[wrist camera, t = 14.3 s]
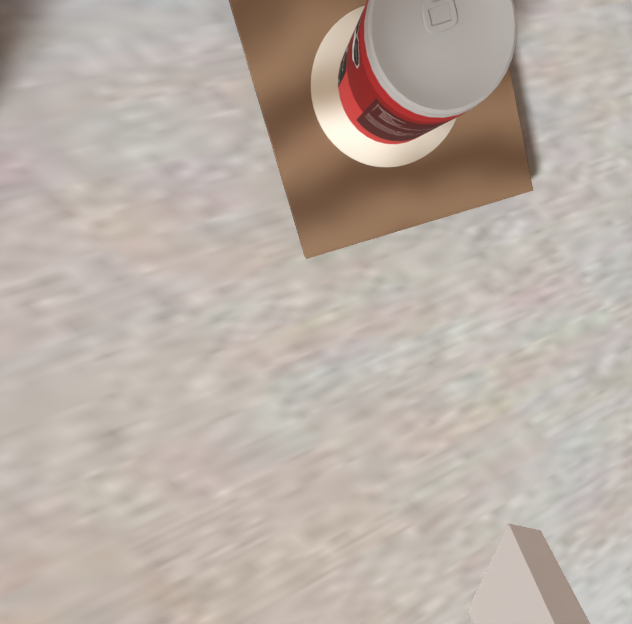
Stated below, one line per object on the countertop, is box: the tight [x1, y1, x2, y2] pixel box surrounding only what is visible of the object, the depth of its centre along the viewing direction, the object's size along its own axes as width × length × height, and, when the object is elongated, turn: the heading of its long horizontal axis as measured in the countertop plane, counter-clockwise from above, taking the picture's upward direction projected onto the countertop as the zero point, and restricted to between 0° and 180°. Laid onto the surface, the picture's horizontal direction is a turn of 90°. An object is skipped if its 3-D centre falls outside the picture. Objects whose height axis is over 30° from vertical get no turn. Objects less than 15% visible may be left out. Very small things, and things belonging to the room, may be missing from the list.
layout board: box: [229, 0, 533, 259], centre depth 35 cm, size 20×18×2 cm
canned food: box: [338, 0, 517, 144], centre depth 29 cm, size 8×8×11 cm
